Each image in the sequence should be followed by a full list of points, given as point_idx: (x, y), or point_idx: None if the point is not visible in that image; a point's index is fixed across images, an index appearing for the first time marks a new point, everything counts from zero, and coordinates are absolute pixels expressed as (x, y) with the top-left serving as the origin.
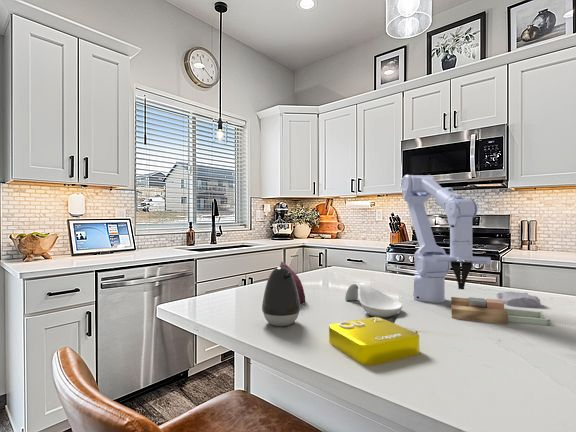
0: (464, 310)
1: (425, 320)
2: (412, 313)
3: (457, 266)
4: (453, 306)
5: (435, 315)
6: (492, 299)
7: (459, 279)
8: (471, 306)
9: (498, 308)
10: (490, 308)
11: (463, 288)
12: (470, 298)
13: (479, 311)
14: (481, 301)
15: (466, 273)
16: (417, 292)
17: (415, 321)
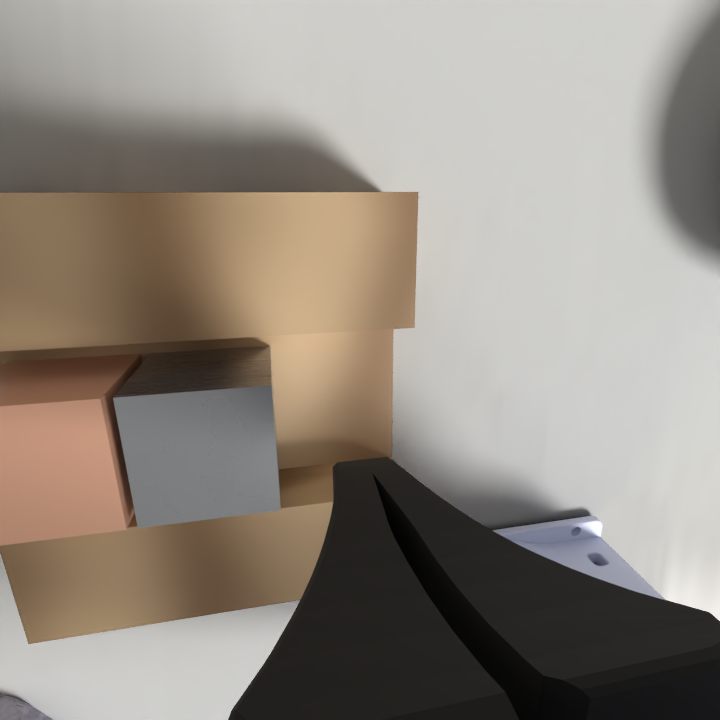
0: (309, 193)
1: (556, 146)
2: (621, 289)
3: (633, 658)
4: (400, 278)
5: (485, 309)
6: (59, 529)
7: (423, 510)
8: (253, 367)
9: (12, 386)
10: (89, 379)
11: (340, 467)
12: (263, 470)
13: (175, 192)
14: (155, 395)
15: (337, 596)
16: (625, 584)
17: (622, 88)
